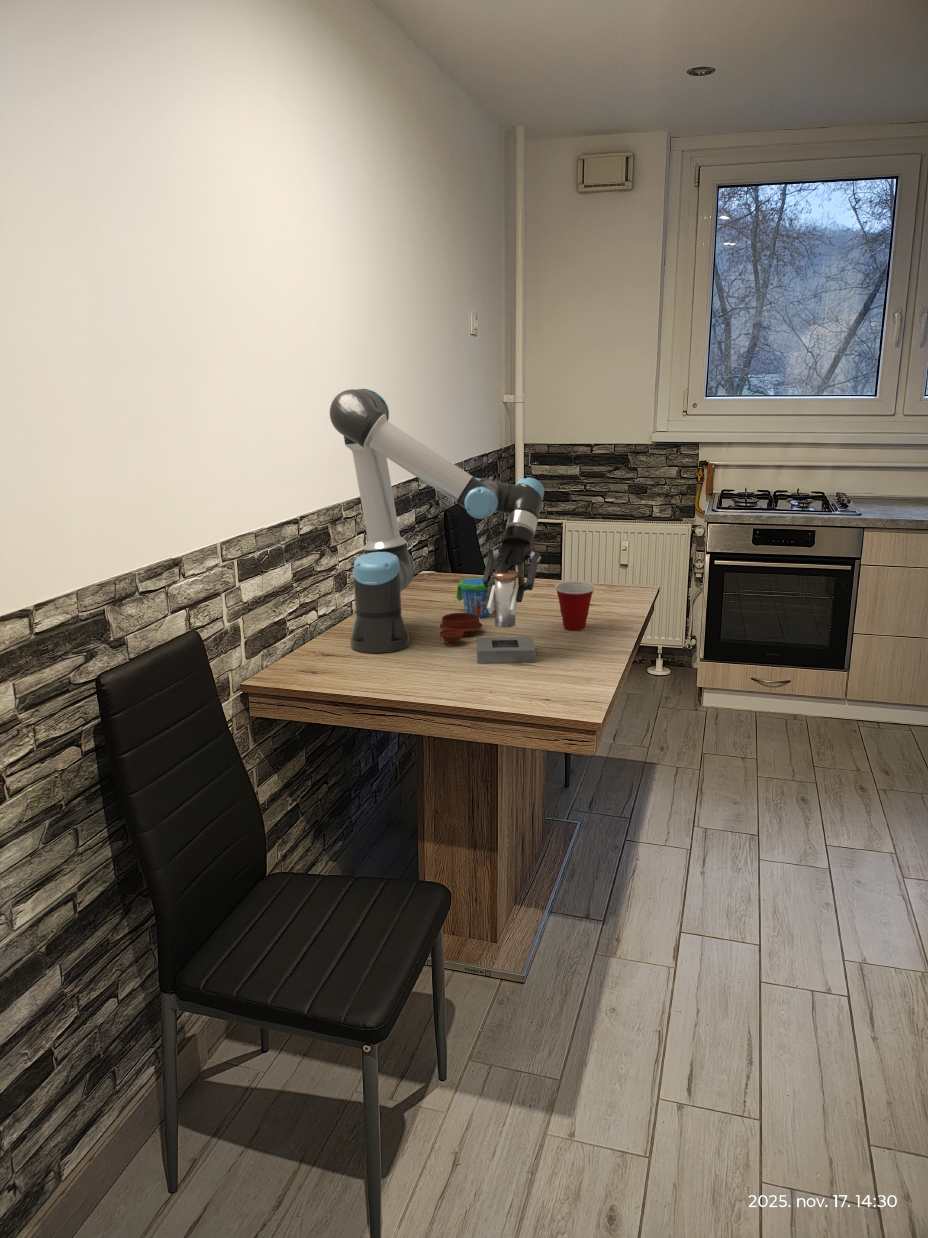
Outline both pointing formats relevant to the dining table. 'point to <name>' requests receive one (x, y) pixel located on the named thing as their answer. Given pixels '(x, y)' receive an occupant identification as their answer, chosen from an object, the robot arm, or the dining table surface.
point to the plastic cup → (574, 603)
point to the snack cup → (473, 596)
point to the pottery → (458, 626)
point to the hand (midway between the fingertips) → (500, 611)
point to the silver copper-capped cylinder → (504, 597)
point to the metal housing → (505, 649)
